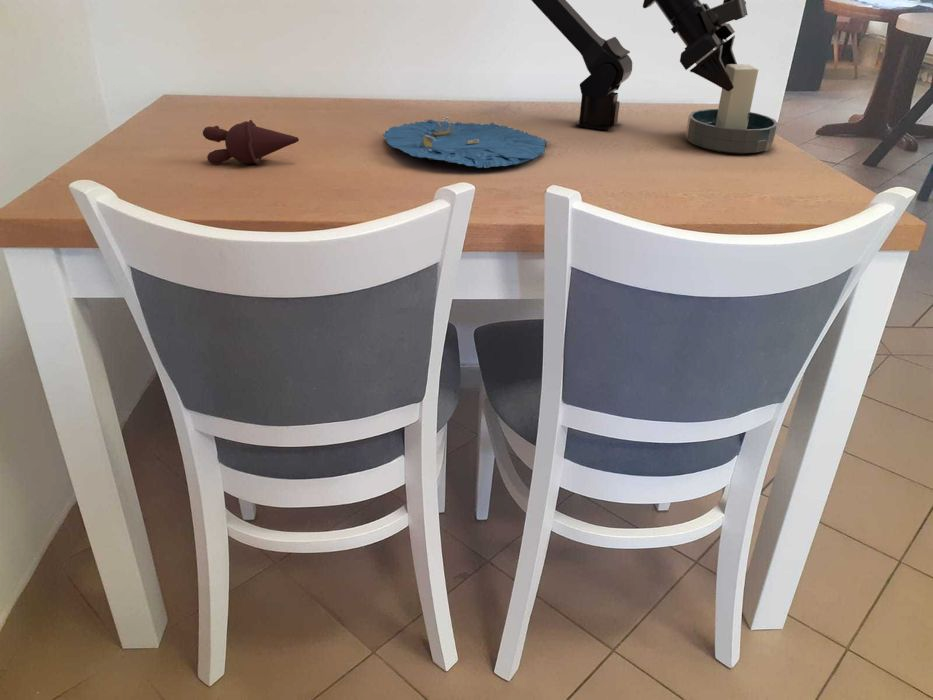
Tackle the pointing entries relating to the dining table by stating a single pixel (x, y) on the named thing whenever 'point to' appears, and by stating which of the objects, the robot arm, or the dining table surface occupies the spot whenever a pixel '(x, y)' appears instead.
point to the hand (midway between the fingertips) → (735, 84)
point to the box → (737, 97)
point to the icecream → (246, 142)
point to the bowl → (730, 133)
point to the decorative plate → (466, 143)
